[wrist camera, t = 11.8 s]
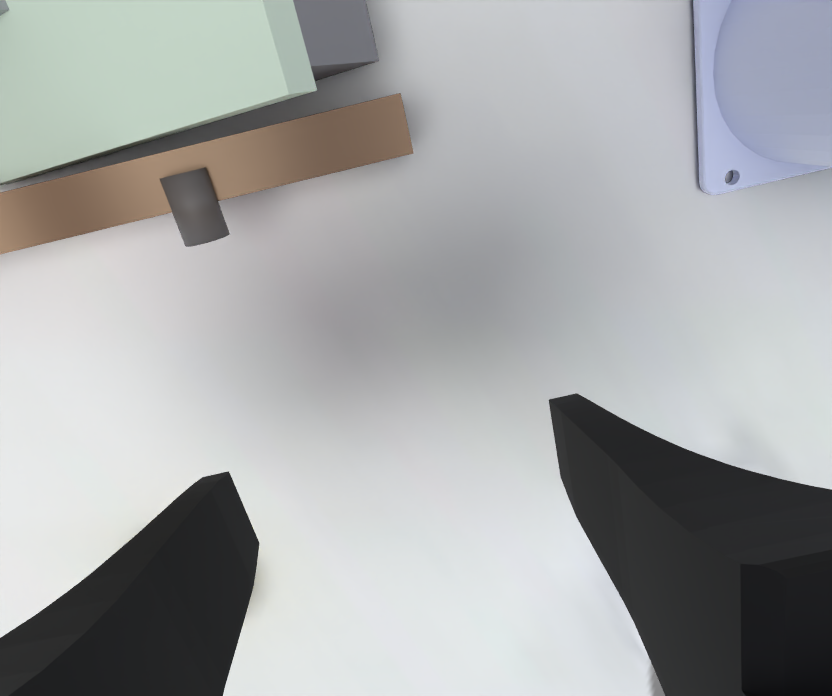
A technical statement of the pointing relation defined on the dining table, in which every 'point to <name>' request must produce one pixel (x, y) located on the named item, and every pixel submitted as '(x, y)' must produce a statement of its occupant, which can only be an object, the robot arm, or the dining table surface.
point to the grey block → (3, 7)
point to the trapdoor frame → (204, 176)
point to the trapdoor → (157, 69)
